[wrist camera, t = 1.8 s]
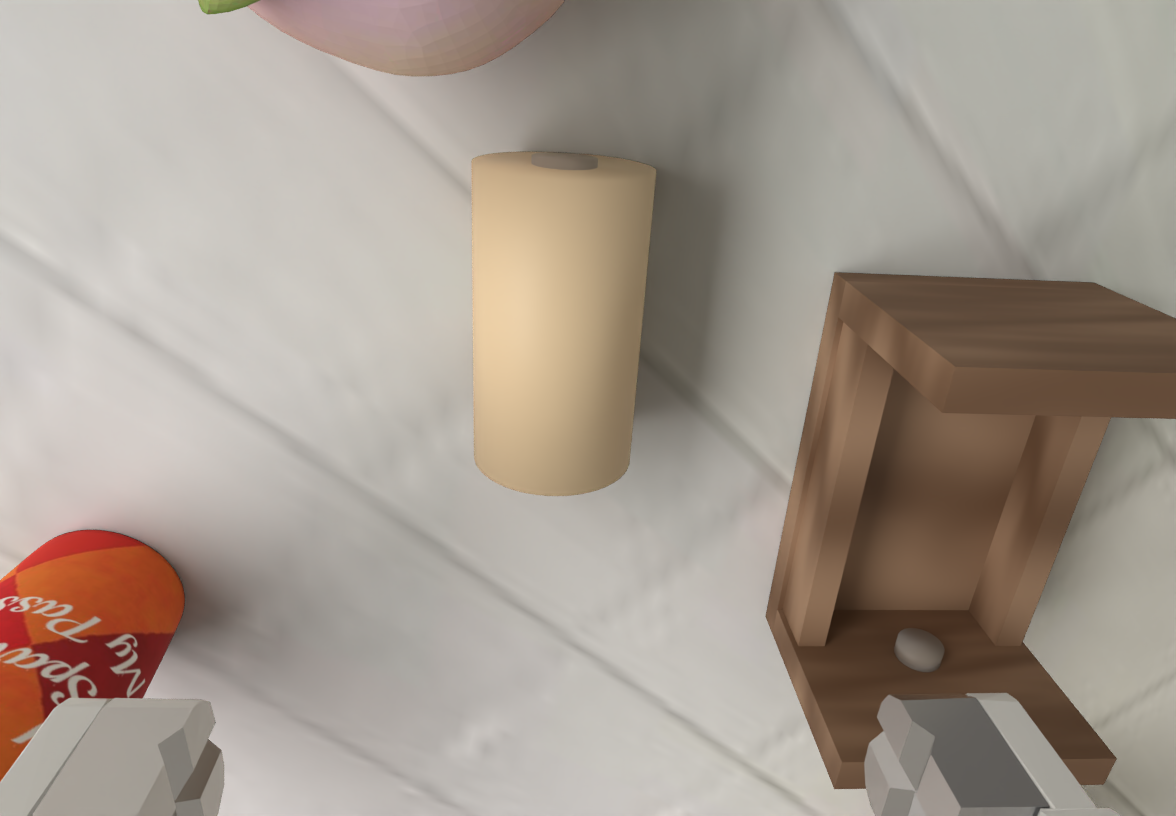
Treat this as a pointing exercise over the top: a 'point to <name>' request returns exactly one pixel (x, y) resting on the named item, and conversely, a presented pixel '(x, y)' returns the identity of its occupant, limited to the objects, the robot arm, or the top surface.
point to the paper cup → (81, 628)
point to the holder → (949, 493)
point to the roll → (557, 316)
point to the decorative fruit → (403, 29)
